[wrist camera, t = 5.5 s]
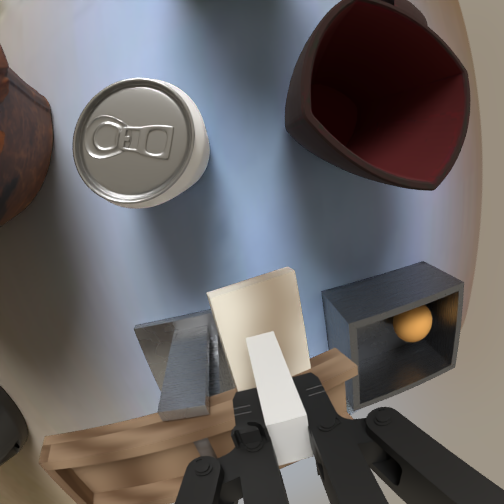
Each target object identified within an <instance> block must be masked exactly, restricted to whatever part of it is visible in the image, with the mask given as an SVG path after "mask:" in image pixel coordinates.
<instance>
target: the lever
mask: <svg viewBox="0 0 504 504" xmlns="http://www.w3.org/2000/svg"><path fill="white" fill-rule="evenodd" d="M207 297H208V300H209V304H210V307H211V311H212V314H213V317H214V321H215V324H216V327H217V331H218V334H219V337H220V341H221V344H222V347H223V350H224V354H225V357H226V360H227V363H228V366H229V369H230V372H231V376H232V379H233V382H234V385H235V388H234V389H231V390H229V391H226V392H223V393H220V394H217V395H214V396H211V397H209V414H208V415H202V416H196V417H190V418H183V419H176V420H168V421H162V420H161V418H160V416H159V414H158V413H154V414H150V415H147V416H143V417H139V418H135V419H131V420H127V421H123V422H118V423H114V424H109V425H105V426H100V427H95V428H90V429H85V430H80V431H75V432H69V433H63V434H57V435H51V436H45V438H44V442H43V446H42V450H41V454H40V458H39V464H40V465H41V467H42V468H43V469H44V470H45V471H46V472H47V473H48V474H49V475H50V477H51V478H52V479H53V480H54V481H55V482H56V483H57V484H58V485H59V486H60V487H61V488H62V489H63V490H64V491H65V492H66V493H67V494H68V495H69V496H70V497H71V498H72V499H73V500H74V501H75V502H76V503H77V504H170V503H174V502H175V501H176V498H177V495H178V492H179V489H180V486H181V483H182V480H183V477H184V474H185V471H186V468H187V466H188V464H189V463H190V462H191V461H192V460H193V459H195V458H198V457H200V456H211V457H214V458H216V459H217V458H220V457H222V456H224V455H226V454H228V453H230V452H231V451H232V450H233V449H234V447H235V445H234V442H233V440H232V438H231V431H232V429H233V428H234V427H235V426H236V425H235V417H234V409H233V401H232V400H233V398H234V395H235V393H236V392H239V391H243V390H248V389H252V388H256V382H255V378H254V373H253V369H252V365H251V360H250V356H249V351H248V347H247V342H246V338H247V337H252V336H256V335H260V334H264V333H267V332H271V331H274V334H275V336H276V339H277V341H278V344H279V347H280V349H281V352H282V354H283V357H284V359H285V362H286V364H287V367H288V369H289V372H290V374H291V377H295V376H299V375H302V374H306V373H309V372H311V373H313V374H314V375H316V376H317V377H318V378H319V379H320V381H321V383H322V386H323V387H324V389H325V391H326V393H327V395H328V397H329V399H330V401H331V403H332V405H333V406H334V408H335V410H336V412H337V413H338V414H339V415H340V416H341V417H344V418H347V419H353V418H352V417H351V416H350V415H349V414H348V413H347V409H346V391H345V381H347V380H349V379H351V378H353V377H355V376H356V375H358V367H357V365H356V364H355V363H354V362H352V361H351V360H350V359H349V358H347V357H346V356H345V355H344V354H343V353H341V352H340V351H339V350H338V349H336V348H333V349H331V350H329V351H326V352H324V353H322V354H320V355H317V356H315V357H313V358H309V352H308V346H307V339H306V333H305V327H304V321H303V315H302V309H301V303H300V297H299V292H298V286H297V280H296V275H295V270H293V269H291V268H289V267H284V268H281V269H278V270H275V271H272V272H269V273H266V274H263V275H260V276H257V277H254V278H251V279H248V280H244V281H241V282H238V283H235V284H232V285H229V286H226V287H223V288H219V289H216V290H213V291H210V292H207ZM295 462H297V461H295ZM295 462H291V463H288V464H284V465H280V466H279V469H281V468H283V467H286V466H288V465H290V464H293V463H295Z"/></svg>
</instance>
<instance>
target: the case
mask: <svg viewBox="0 0 504 504" xmlns="http://www.w3.org/2000/svg"><path fill="white" fill-rule="evenodd" d="M50 113H51V109H50V105H49V103H48V101H47V99H46V98H45V97H44V96H42V95H41V94H39V93H38V92H37V91H36V90H35V89H33V88H32V87H30V86H29V85H28V84H26V83H25V82H24V81H23V80H22V79H21V78H20V77H19V76H18V75H17V74H16V73H15V72H14V71H13V70H12V69H11V68H9V66H8V62H7V59H6V56H5V54H4V52H3V49H2V47H1V45H0V227H1V226H2V225H4V224H5V223H6V222H8V221H9V220H11V219H12V218H13V217H15V216H16V215H18V214H19V213H20V212H21V211H23V210H24V209H25V208H26V207H27V206H28V205H29V204H30V203H31V201H32V200H33V199H34V198H35V196H36V195H37V193H38V191H39V190H40V188H41V186H42V184H43V181H44V179H45V176H46V174H47V171H48V167H49V163H50V158H51V152H52V144H53V128H52V121H51V115H50Z"/></svg>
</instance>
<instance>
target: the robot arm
mask: <svg viewBox="0 0 504 504" xmlns="http://www.w3.org/2000/svg"><path fill="white" fill-rule="evenodd" d="M246 342H247V347H248V351H249V356H250V360H251V365H252V369H253V373H254V378H255V382H256V388H252V389H248V390H243V391H239V392H236V393H235V395H234V398H233V400H232V401H233V409H234V417H235V425H236V426H235V427H234V428H233V429H232V431H231V438H232V440H233V442H234V445H235V447H234V449H233V450H232V451H231V452H230V453H228V454H226V455H224V456H222V457H220V458H217V459H216V458H214V457H211V456H200V457H198V458H195V459H193V460H192V461H191V462H190V463H189V464H188V466H187V468H186V471H185V474H184V477H183V480H182V483H181V486H180V489H179V492H178V495H177V498H176V501H175V504H238V500H239V499H241V498H243V499H244V504H289V501H288V498H287V494H286V490H285V487H284V483H283V479H282V475H281V472H280V469H279V466H280V465H284V464H288V463H291V462H295V461H299V460H302V459H306V458H309V457H313V454H314V456H315V459H316V465H317V472H318V475H320V477H321V479H322V482H323V485H324V487H325V490H326V493H327V496H328V498H329V501H330V503H331V504H388V502H387V500H386V498H385V496H384V494H383V492H382V490H381V488H380V487H379V485H378V483H377V481H376V479H375V477H374V475H373V473H372V471H371V469H372V470H373V471H374V472H375V473H376V474H377V475H378V476H379V477H380V478H381V479H382V480H383V481H384V482H385V483H386V484H387V485H388V486H389V487H390V488H391V489H392V490H393V491H394V492H395V493H396V494H397V495H398V496H399V497H400V498H401V499H403V501H405V502H406V503H407V504H504V490H503V489H501V488H500V487H499V486H497V485H496V484H494V483H493V482H492V481H490V480H489V479H487V478H486V477H485V476H483V475H482V474H480V473H479V472H478V471H476V470H475V469H474V468H472V467H470V466H469V465H468V464H467V463H465V462H464V461H463V460H461V459H460V458H458V457H457V456H456V455H454V454H453V453H452V452H450V451H449V450H448V449H446V448H445V447H444V446H442V445H441V444H439V443H438V442H437V441H436V440H434V439H433V438H432V437H430V436H429V435H428V434H426V433H425V432H424V431H422V430H421V429H420V428H418V427H417V426H416V425H415V424H413V423H412V422H411V421H409V420H408V419H407V418H405V417H404V416H403V415H402V414H400V413H399V412H398V411H396V410H395V409H393V408H389V407H380V408H377V409H374V410H372V411H371V412H370V413H369V414H368V416H367V418H362V419H347V418H344V417H341V416H340V415H339V414H338V413H337V412H336V410H335V408H334V406H333V405H332V403H331V401H330V399H329V397H328V395H327V393H326V391H325V389H324V387H323V386H322V383H321V381H320V379H319V378H318V377H317V376H316V375H314V374H313V373H311V372H309V373H306V374H302V375H299V376H295V377H291V374H290V372H289V369H288V367H287V364H286V362H285V359H284V357H283V354H282V352H281V349H280V347H279V344H278V341H277V339H276V336H275V334H274V331H271V332H267V333H264V334H260V335H256V336H252V337H247V338H246ZM27 437H28V431H27V426H26V423H25V421H24V419H23V417H22V415H21V413H20V411H19V410H18V408H17V407H16V405H15V404H14V402H13V401H12V400H11V398H10V397H9V396H8V395H7V394H6V392H5V391H4V390H3V389H2V388H1V387H0V466H1V465H2V464H4V463H5V462H6V461H8V460H9V459H10V458H12V457H13V456H14V455H16V454H17V453H18V452H19V451H20V450H21V449H22V447H23V445H24V443H25V442H26V440H27ZM370 468H371V469H370Z"/></svg>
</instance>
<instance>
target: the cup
mask: <svg viewBox="0 0 504 504" xmlns="http://www.w3.org/2000/svg"><path fill="white" fill-rule="evenodd" d="M469 115H470V87H469V79H468V73H467V71H466V69H465V68H464V66H463V65H462V63H461V62H460V60H459V59H458V58H457V56H456V55H455V54H454V52H453V51H452V50H451V49H450V47H449V46H448V45H447V44H446V43H445V42H444V41H443V40H442V39H441V38H440V37H439V36H438V35H437V34H436V33H435V32H434V31H433V30H431V29H430V28H429V27H428V26H427V21H426V19H425V17H424V16H423V14H422V13H421V12H420V11H419V10H418V9H417V8H416V7H415V6H414V5H413V4H412V3H411V2H409V1H407V0H342V1H340V2H339V3H338V4H336V5H335V6H334V7H333V8H332V9H331V10H330V11H329V12H328V13H327V14H326V15H325V16H324V17H323V19H322V20H321V21H320V23H319V24H318V25H317V27H316V28H315V30H314V31H313V33H312V34H311V36H310V37H309V39H308V41H307V42H306V44H305V46H304V48H303V50H302V52H301V54H300V56H299V58H298V60H297V63H296V66H295V68H294V71H293V74H292V78H291V81H290V85H289V89H288V94H287V99H286V107H285V127H286V130H287V132H288V133H289V134H290V135H291V136H292V137H293V138H294V139H295V140H296V141H297V142H298V143H299V144H300V145H302V146H303V147H304V148H305V149H307V150H308V151H310V152H311V153H313V154H314V155H316V156H318V157H320V158H321V159H323V160H325V161H327V162H329V163H331V164H333V165H335V166H336V167H339V168H341V169H343V170H345V171H348V172H350V173H353V174H355V175H358V176H361V177H363V178H367V179H370V180H373V181H377V182H380V183H384V184H388V185H393V186H397V187H402V188H408V189H416V190H431V191H432V190H435V189H436V188H437V187H438V186H439V185H440V183H441V182H442V181H443V180H444V179H445V177H446V176H447V175H448V173H449V172H450V170H451V169H452V167H453V165H454V164H455V162H456V160H457V158H458V156H459V153H460V151H461V148H462V146H463V143H464V140H465V137H466V133H467V128H468V123H469Z"/></svg>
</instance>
